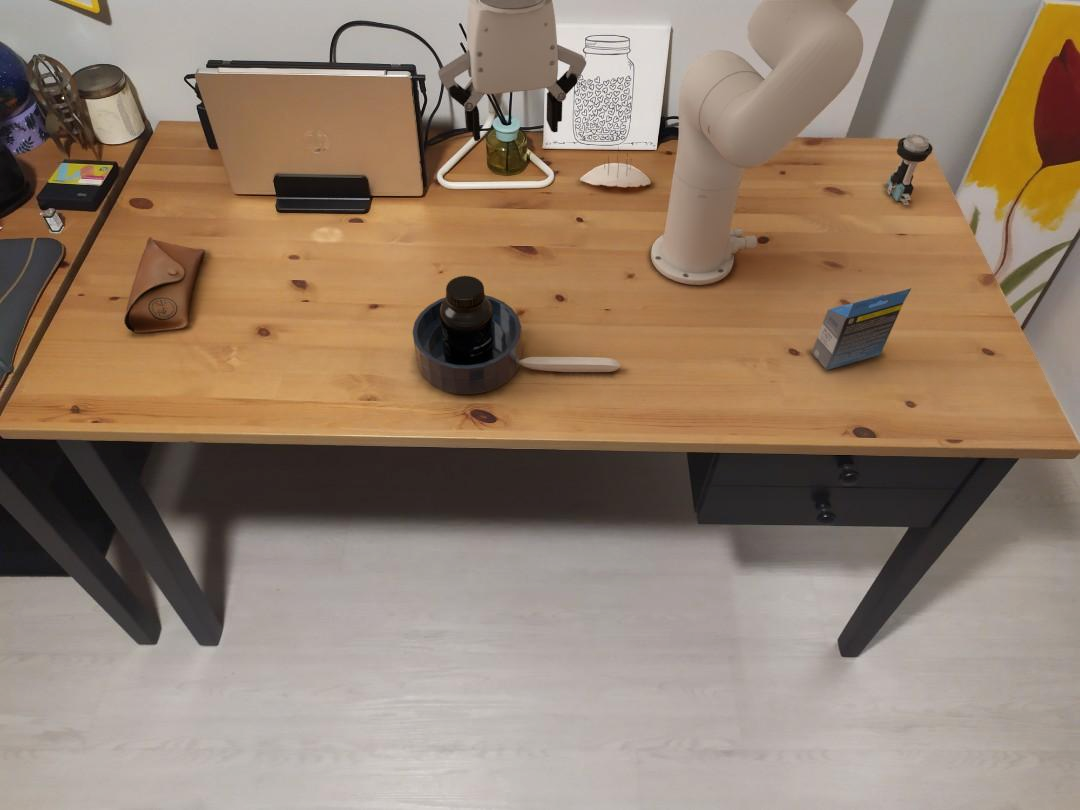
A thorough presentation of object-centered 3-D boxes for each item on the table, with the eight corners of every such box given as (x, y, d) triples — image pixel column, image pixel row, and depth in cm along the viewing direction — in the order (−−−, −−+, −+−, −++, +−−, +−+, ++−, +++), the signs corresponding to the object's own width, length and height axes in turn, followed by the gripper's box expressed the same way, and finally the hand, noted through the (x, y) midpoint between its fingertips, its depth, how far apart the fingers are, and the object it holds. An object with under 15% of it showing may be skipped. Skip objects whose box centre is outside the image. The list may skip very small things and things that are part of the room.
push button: (920, 206, 135) (943, 153, 127) (889, 208, 135) (911, 154, 127) (905, 183, 139) (927, 130, 132) (875, 185, 139) (895, 131, 131)
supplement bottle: (487, 377, 108) (483, 309, 99) (438, 369, 108) (429, 301, 99) (499, 341, 112) (497, 274, 103) (452, 334, 113) (445, 266, 104)
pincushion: (579, 192, 136) (581, 163, 132) (580, 172, 140) (581, 143, 136) (650, 195, 136) (654, 166, 132) (649, 175, 140) (653, 145, 136)
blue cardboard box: (864, 337, 114) (894, 269, 105) (881, 356, 112) (913, 287, 102) (810, 352, 112) (835, 284, 103) (826, 372, 110) (853, 303, 100)
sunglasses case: (191, 326, 113) (151, 297, 109) (155, 348, 116) (114, 321, 111) (206, 246, 125) (171, 217, 120) (173, 268, 127) (137, 240, 123)
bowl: (510, 316, 116) (509, 287, 112) (531, 388, 107) (531, 359, 103) (411, 330, 114) (407, 301, 110) (424, 404, 105) (419, 375, 101)
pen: (516, 364, 110) (516, 355, 109) (619, 365, 110) (621, 356, 109) (516, 372, 109) (516, 363, 108) (620, 373, 109) (621, 364, 108)
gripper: (580, -35, 91) (574, 108, 104) (426, -22, 88) (440, 122, 101) (598, -7, 86) (589, 139, 99) (436, 7, 83) (448, 155, 96)
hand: (514, 130), depth 100 cm, fingers open, 9 cm apart
